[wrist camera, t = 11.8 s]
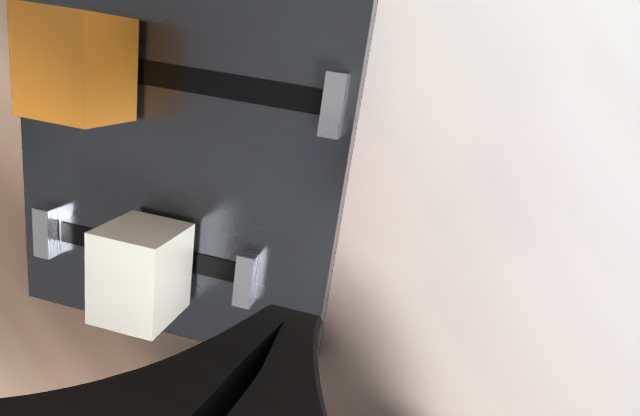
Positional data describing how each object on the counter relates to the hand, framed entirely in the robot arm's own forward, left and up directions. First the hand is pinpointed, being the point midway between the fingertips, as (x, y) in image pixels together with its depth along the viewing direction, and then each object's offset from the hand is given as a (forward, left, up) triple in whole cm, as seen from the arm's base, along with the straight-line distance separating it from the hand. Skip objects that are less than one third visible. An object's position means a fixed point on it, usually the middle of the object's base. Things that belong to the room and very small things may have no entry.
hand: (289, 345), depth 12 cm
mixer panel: (+1, +8, -10) cm, 13 cm away
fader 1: (+5, +11, -8) cm, 15 cm away
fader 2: (-3, +8, -8) cm, 12 cm away
